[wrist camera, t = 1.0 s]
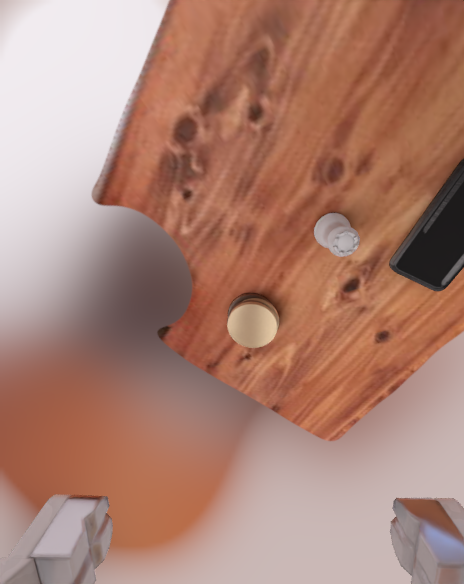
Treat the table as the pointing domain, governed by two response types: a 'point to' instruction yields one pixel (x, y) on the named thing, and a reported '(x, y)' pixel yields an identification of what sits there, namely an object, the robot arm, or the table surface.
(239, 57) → the table surface
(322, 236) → the rook chess piece
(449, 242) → the phone
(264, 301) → the chip pile
